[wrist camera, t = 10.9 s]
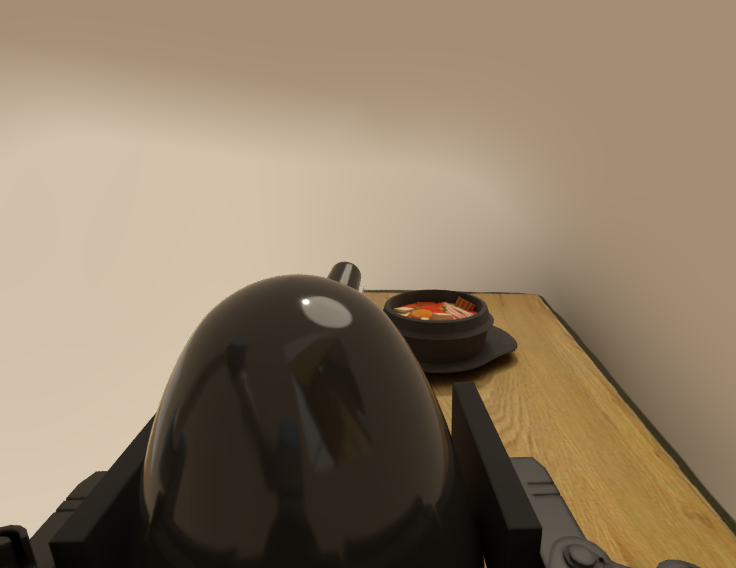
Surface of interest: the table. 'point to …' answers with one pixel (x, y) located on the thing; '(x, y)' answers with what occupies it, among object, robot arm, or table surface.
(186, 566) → the pump dispenser
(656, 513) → the table surface
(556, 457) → the table surface
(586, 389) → the table surface
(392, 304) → the casserole
